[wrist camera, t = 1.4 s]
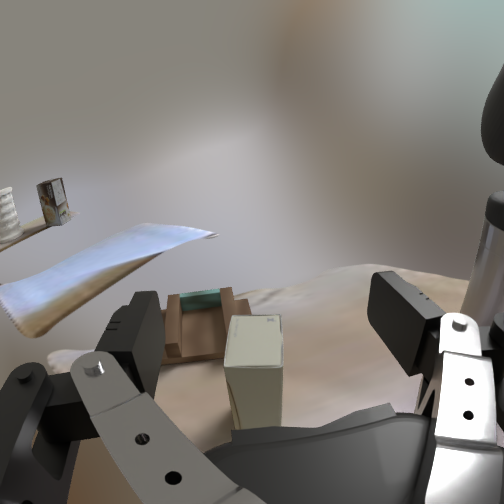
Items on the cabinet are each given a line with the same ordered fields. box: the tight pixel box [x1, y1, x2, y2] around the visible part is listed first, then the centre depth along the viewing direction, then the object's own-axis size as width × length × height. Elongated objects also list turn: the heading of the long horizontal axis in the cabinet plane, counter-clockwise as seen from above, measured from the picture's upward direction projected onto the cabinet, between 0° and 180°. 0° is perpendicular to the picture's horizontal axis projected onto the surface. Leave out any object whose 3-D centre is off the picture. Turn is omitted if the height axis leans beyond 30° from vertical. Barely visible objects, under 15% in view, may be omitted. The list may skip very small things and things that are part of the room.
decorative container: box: [0, 187, 24, 243], centre depth 85 cm, size 12×12×18 cm
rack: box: [161, 287, 252, 365], centre depth 42 cm, size 14×11×4 cm
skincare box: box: [224, 314, 283, 430], centre depth 26 cm, size 6×4×12 cm
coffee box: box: [37, 178, 71, 227], centre depth 93 cm, size 9×6×16 cm
